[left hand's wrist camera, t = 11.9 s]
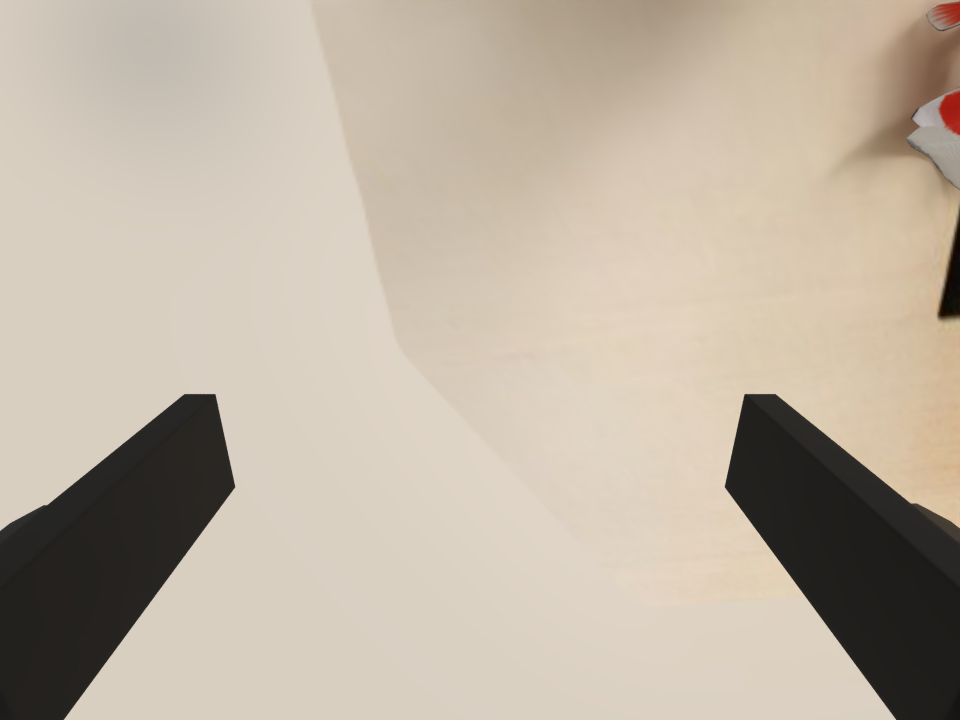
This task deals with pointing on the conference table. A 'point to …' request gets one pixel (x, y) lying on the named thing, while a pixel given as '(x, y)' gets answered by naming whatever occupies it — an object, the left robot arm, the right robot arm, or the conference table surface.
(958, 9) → the fish
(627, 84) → the conference table surface
